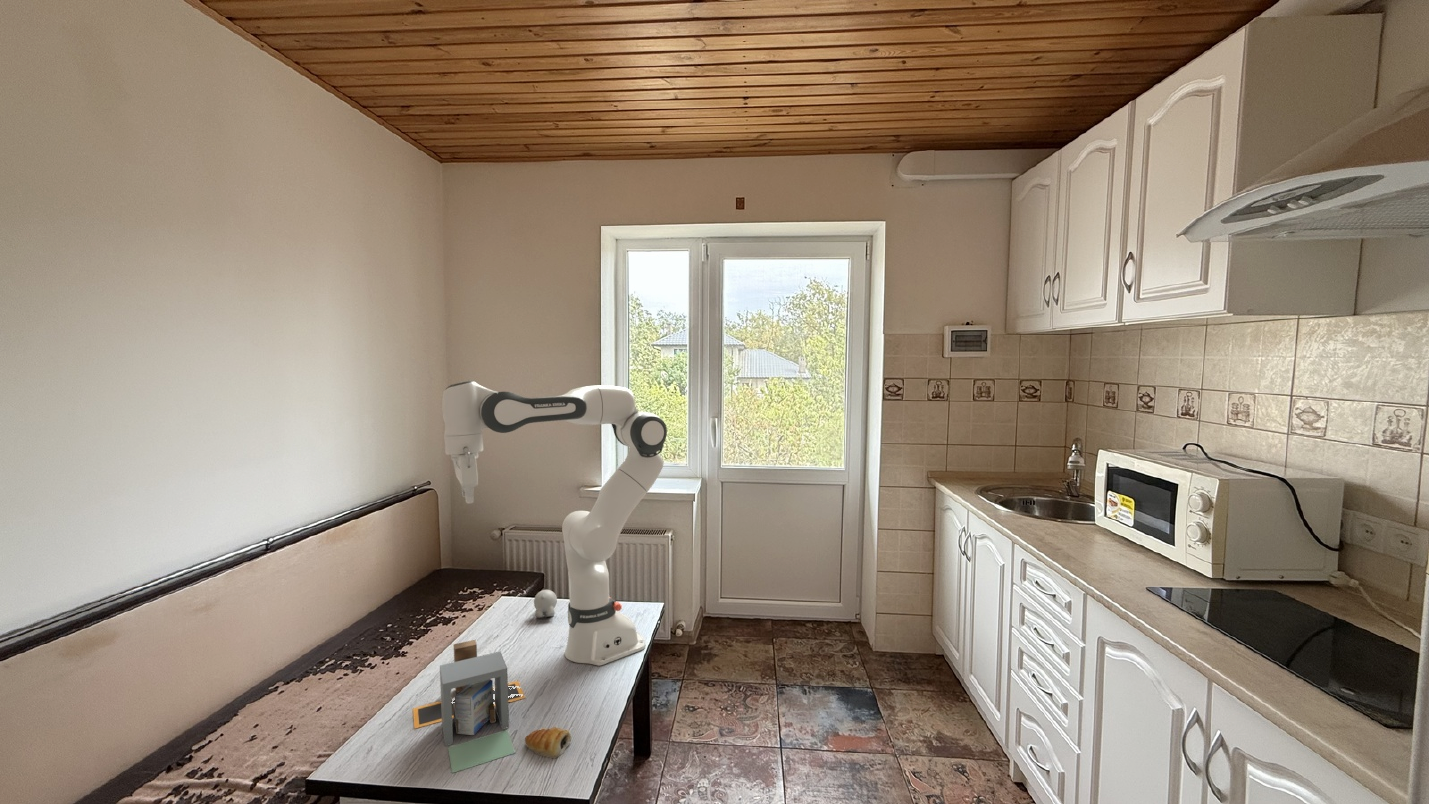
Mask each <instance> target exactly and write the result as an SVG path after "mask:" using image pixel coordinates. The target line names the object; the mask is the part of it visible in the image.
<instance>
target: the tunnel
mask: <svg viewBox="0 0 1429 804" xmlns="http://www.w3.org/2000/svg"><path fill="white" fill-rule="evenodd" d="M508 675H509V674H508V667H507V664H506V661H505V659H504V656H503V654H502V651H496V652H492V653H488V654H484V655H480V656H479V655H477V657H474V658H470V659H466V660H461V661H457V662H454V661H453V662H449V663H446V664H440V665H439V679H440V680H439V681H440V685H439V686H440V701H441V712H442V721H441V726H442V727H441V728H442V732H443V739H444V746H445V747H447V746H449V745H450V746H451V745H453V743H454V737H453V736H454V734H453V718H452V704H451V698H452V690H454V689H455V688H457V687H461V686H465V685H469V684H473V683H477V682H481V681H485V680H489V679H491V680H493V679H494V687H495V705H496V706H495V712H496V714H497V715H496V716H497V718H498V721H499V724H500V728H501V729H502V730H503V729H506V728H509V727H510V717H509V716H510V714H509V713H510V711H509V707H510V706H509V703H508V680H509V679H508V678H509V676H508Z"/></svg>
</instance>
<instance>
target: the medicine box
mask: <svg viewBox="0 0 1429 804" xmlns="http://www.w3.org/2000/svg"><path fill="white" fill-rule="evenodd" d="M493 684H494V683H493V679H489V680H485V681H481V682H477V683H473V684H469V685H468V686H466V687H465V688H464V689H463V690H462V691H461V692H458V693H456V695H455V696H454V697H455V719H458V733H457V729H456V728H455V734H460V735H467V736H468V735H470V736H474V735H476V734H477V732H478V731H479V730H480V729H481V728H482V727H484V725H485V724H487V722H488V721H490V719H489V705H490V704H491V703H492V702H493V687H494V685H493Z"/></svg>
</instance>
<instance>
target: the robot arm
mask: <svg viewBox="0 0 1429 804" xmlns="http://www.w3.org/2000/svg"><path fill="white" fill-rule="evenodd" d="M441 403H442V404H441V405H442V407H441V408H442V410H441V411H442V420H443V422H444V426H445V427H444V433H443V436H444V450H445V455H446V456H449V455H450V457H451V458H450V459H451V461H452V463H453V468H454V473H455V477H456V479H457V480H458V482H459V484H460V488H461V495H462V497H463V498H464V499H465V503H466V504H468V505H469V504H473V503H475V499H474V498H475V497H474V493H475V487H478V486H479V472H478V466H477V464H478V463H477V459H478V458H479V456H480V455H479V453H481V452H483V451H484V439H483V429H490V430H491V431H493V432H496V433H501V434H506V433H510V432H511V433H512V432H514V431H516V430H518V429H520V428H521V427H523V426H525V425H528V424H534V423H544V422H547V423H548V422H557V421H559V422H560V421H561V422H562V421H563V422H568V423H571V424H573V425H580V426H595V425H605V424H606V425H607V424H609V425H611V427H612V430H613V435H614V436H615V438H616V440H617V441H618V442H619V443H620V444H621V445H623V446H625V447H628V453H627V456H626V458H625V459H624V460H623V462H622V463H621V465H619V466H618V468H617V469H616V470H615V471H614V473H613V474H612V475H611V476H610V477H609V479H607V481H606V482H605V483H604V484H603V486H602V487H601V488H600V490H599V492H598V496H597V499H596V500H595V503H594V505H592V506H593V507H592V508H591V510H590V511H587V510H576V511H572V512H570V513H569V514H567V516H566V517H565V518H564V520H563V523H562V524H561V525H562V526H561V530H562V537H563V544H564V552H565V553H564V555H565V561H566V567H567V572H568V586H569V587H568V588H569V589H568V590H569V592H568V593H569V602H568V605H567V607H568V608H567V622H568V626H569V629H568V636H567V642H566V647H565V650H564V651H565V652H564V656H565V657H566V659H567V660H569V661H571V662H574V663H578V664H591V665H594V666H603V665H605V664H609V663H611V662H613V661H617V660H618V659H619V660H620V659H622V658H625V657H627V656H630V655H632V654H634V653H637V652H640V651H642V650H644V649H645V648H646V641H645V638H644V637H643V636H642V634H640V633H639V632H638V631H637V628H636V625H635V623H634V622H633V620H632V619H630V617H628V616H627V615H625V614H623V613H622V612H620V611H621V610H622V607H623V606H622V604H621V603H620V602H619V601H616V599H614V598H612V597H611V596H610V574H609V569H608V566H607V562H606V561H607V560H608V559H609V558H611V557H612V556H613V555H614V553H615V551H616V549H617V545H618V539H619V536H620V534H621V532H622V531H623V528H624V526H625V524H627V523H626V522H627V520H628V519H629V518H630V515H631V514H632V512H633V511H634V510H635V509H636V507H637V506H638V505H639V503H640V502H641V501H642V500H643V498H644V497H645V496H646V494H647V493H648V492H649V491H650V489H652V486H653V485H654V484H655V483H656V480H657V479H658V478H659V476H660V473H662V470H663V467H664V460H663V458H662V456H661V454H660V453H661V452H662V451H663V448H664V444H665V441H666V440H667V435H668V429H667V424H666V423H665V421H664V420H663V419H662V418H661V417H660V416H659V415H657V414H655V413H651V412H647V411H641V410H638V409H637V406H636V399H635V396H634V393H633V392H632V391H631V390H630V389H629V388H627V387H623V386H615V385H607V384H606V385H604V384H602V385H600V384H598V385H587V386H580V387H577V388H572V389H570V390H568V391H567V392H566V393H564V394H562V395H561V394H560V395H557V396H555V395H554V396H545V397H544V396H541V397H524V396H521V395H518V394H516V393H514V392H510V391H496V390H492V389H490V388H487V387H485V386H482V384H481V385H480V384H479V383H477V382H476V381H474V380H467V381H463V382H458V383H457V382H456V383H453V384H450V385H448V386H447V387H446V388H445V389H444V390H443V393H442V402H441Z"/></svg>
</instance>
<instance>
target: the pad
mask: <svg viewBox="0 0 1429 804" xmlns="http://www.w3.org/2000/svg"><path fill="white" fill-rule="evenodd" d="M509 733H510V732H509V730H508V729H505V730H501V731H498V732H495V733H492V734H488V735H485V736H482V737H479V738H478V737H477V738H475V739H474V738H473V739H472V740H468V741H465V742H462V743H458V744H455V745H452V746H451V745H450V746H448V747H447V749H448V757H449V762H450V768H451V773H452V774H455V773H457V772H461V771H464V770H467V769H470V768H473V767H475V766H479V765H483V764H485V763H488V762H491V761H495V760H497V759H501V758H505V757H507V756H511V755H514V754H516V751H515V748H514V745H513V742H512V739H511V735H510V734H509ZM460 770H461V771H460Z"/></svg>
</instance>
